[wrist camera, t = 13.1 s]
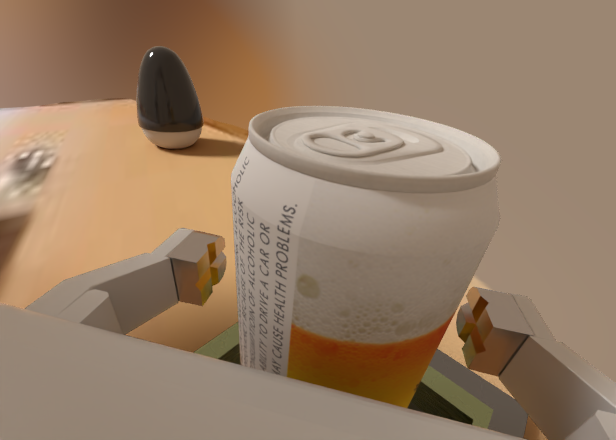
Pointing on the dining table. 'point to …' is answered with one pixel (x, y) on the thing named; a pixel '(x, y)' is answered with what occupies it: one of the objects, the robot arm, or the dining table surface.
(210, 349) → the green and grey tray
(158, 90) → the dark grey egg shape
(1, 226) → the dining table surface
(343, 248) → the beer can
